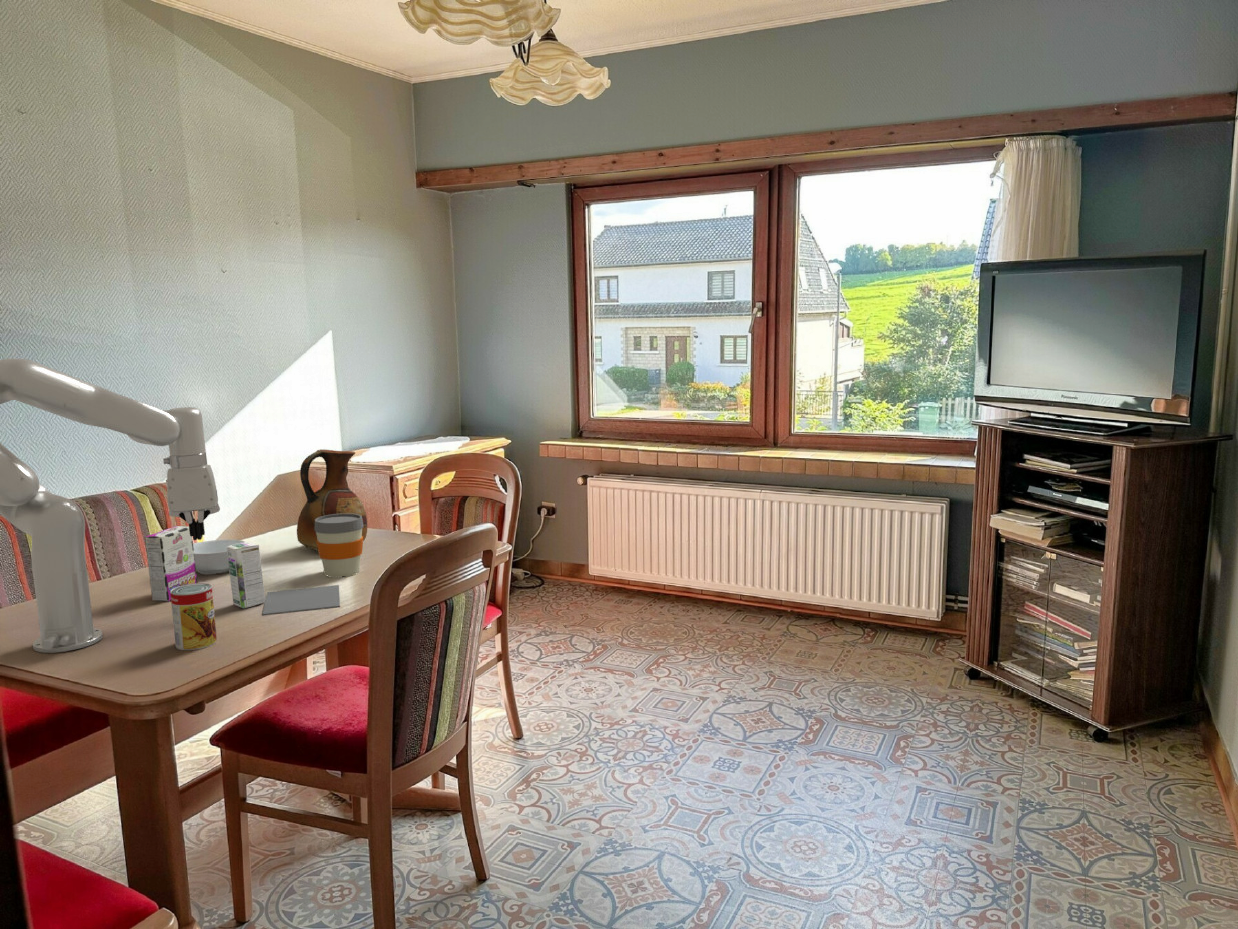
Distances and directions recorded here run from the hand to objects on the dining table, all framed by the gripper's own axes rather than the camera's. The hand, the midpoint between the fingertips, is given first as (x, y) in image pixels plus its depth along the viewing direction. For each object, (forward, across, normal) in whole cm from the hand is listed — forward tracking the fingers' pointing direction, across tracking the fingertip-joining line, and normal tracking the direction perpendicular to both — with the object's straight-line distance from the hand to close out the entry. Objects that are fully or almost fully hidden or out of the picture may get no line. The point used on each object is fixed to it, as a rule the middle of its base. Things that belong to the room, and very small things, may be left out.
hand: (197, 538), depth 206 cm
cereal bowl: (+18, -2, +36) cm, 40 cm away
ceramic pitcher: (+18, +29, +50) cm, 60 cm away
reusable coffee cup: (+18, +31, +20) cm, 41 cm away
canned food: (+17, +1, -26) cm, 31 cm away
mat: (+17, +22, -2) cm, 28 cm away
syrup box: (+17, +10, 0) cm, 20 cm away
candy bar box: (+17, -9, +14) cm, 24 cm away
